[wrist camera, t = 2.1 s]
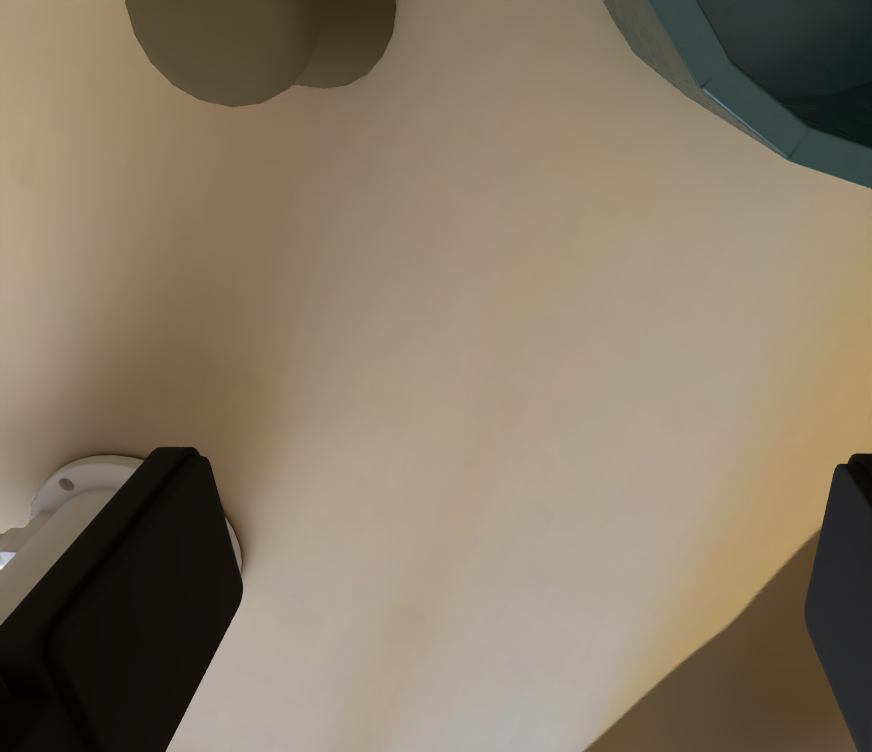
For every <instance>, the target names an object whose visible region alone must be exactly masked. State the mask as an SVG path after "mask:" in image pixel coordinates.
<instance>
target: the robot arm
mask: <svg viewBox="0 0 872 752" xmlns="http://www.w3.org/2000/svg"><path fill="white" fill-rule="evenodd" d="M29 519H30V522H29V523H28V524H27V525H26V526H25V527H24V528H11V529H9V530H8V531H6V532H5V533H4V534H0V752H165V751H166V749H167V747H168V745H169V744H170V742H171V740H172V738H173V736H174V734H175V732H176V730H177V728H178V726H179V724H180V722H181V720H182V718H183V716H184V714H185V712H186V710H187V708H188V706H189V704H190V702H191V700H192V698H193V696H194V694H195V692H196V690H197V688H198V686H199V684H200V682H201V680H202V678H203V676H204V674H205V672H206V670H207V668H208V667H209V665H210V663H211V661H212V659H213V657H214V655H215V653H216V651H217V649H218V647H219V645H220V643H221V641H222V639H223V637H224V635H225V633H226V631H227V629H228V627H229V625H230V623H231V621H232V619H233V617H234V615H235V613H236V611H237V609H238V607H239V605H240V603H241V599H242V594H243V583H242V578H241V566H242V559H241V552H240V546H239V544H238V541H237V538H236V536H235V533H234V530H233V529H232V527H231V525H230V524H229V522H228V520H227V519H226V517H225V516H224V512H223V508H222V505H221V501H220V497H219V494H218V490H217V486H216V483H215V479H214V475H213V472H212V468H211V465H210V462H209V460H208V459H207V458H206V457H204V456H200V454H199V452H198V451H197V450H196V449H195V448H193V447H158V448H156V449H155V450H153V451H152V452H151V454H150V455H149V456H148V457H147V458H146V459H145V460H144V461H143V460H140V459H137V458H131V457H124V456H117V455H103V456H92V457H87V458H83V459H78V460H76V461H74V462H72V463H69V464H67V465H65V466H63V467H62V468H61V469H59V470H58V471H57V472H56V473H55V474H53V475H52V476H51V477H50V478H49V479H48V480H47V481H46V482H45V483H44V484H43V486H42V487H41V488H40V489H39V490H38V492H37V494H36V496H35V498H34V500H33V502H32V505H31V511H30V518H29ZM805 622H806V627H807V630H808V633H809V635H810V638H811V640H812V643H813V645H814V647H815V650H816V652H817V655H818V657H819V659H820V662H821V664H822V667H823V669H824V672H825V674H826V676H827V679H828V681H829V683H830V686H831V688H832V691H833V693H834V696H835V698H836V700H837V703H838V705H839V707H840V710H841V712H842V715H843V717H844V720H845V722H846V724H847V727H848V729H849V731H850V734H851V736H852V739H853V741H854V743H855V746H856V748H857V751H858V752H872V454H854V455H852V456H851V458H850V459H849V461H848V464H839V465H837V467H836V468H835V471H834V474H833V478H832V483H831V488H830V492H829V497H828V501H827V506H826V510H825V515H824V520H823V524H822V529H821V533H820V538H819V543H818V547H817V552H816V556H815V561H814V566H813V571H812V575H811V579H810V584H809V588H808V593H807V597H806V602H805Z"/></svg>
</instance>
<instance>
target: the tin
mask: <svg viewBox="0 0 872 752" xmlns="http://www.w3.org/2000/svg"><path fill="white" fill-rule="evenodd" d="M603 2H604V4H605V5H606V7H607V9H608V10H609V12H610V14H611V16H612V18H613V20H614V21H615V23H616V25H617V27H618V28H619V30H620V31H621V32H622V34H623V36H624V37H625V39H626V41H627V42H628V44H629V46H630V47H631V49H632V51H633V52H634V53H635V54H636V55H637V56H638V57H639V58H640V59H642V60H643V61H644V62H645V63H646V64H648V65H649V66H650V67H651V68H653V69H654V70H655V71H656V72H657V73H659V74H660V75H661V76H662V77H664V78H665V79H666V80H667V81H669V82H670V83H671V84H672V85H674V86H675V87H676V88H677V89H678V90H680V91H681V92H682V93H683V94H685V95H686V96H687V97H689V98H691V99H692V100H694V101H695V102H697V103H698V104H700V105H701V106H703V107H705V108H706V109H708V110H709V111H711V112H712V113H714V114H716V115H717V116H719V117H720V118H722V119H723V120H725V121H727V122H728V123H730V124H731V125H733V126H734V127H736V128H738V129H739V130H741V131H742V132H744V133H745V134H747V135H749V136H750V137H752V138H753V139H755V140H756V141H758V142H760V143H761V144H763V145H764V146H766V147H767V148H769V149H771V150H772V151H774V152H775V153H777V154H778V155H780V156H782V157H783V158H785V159H787V160H788V161H790V162H793V163H796V164H799V165H802V166H805V167H808V168H811V169H814V170H817V171H820V172H823V173H826V174H829V175H832V176H835V177H838V178H841V179H844V180H847V181H850V182H853V183H856V184H859V185H862V186H865V187H868V188H871V189H872V0H603Z"/></svg>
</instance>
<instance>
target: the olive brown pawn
mask: <svg viewBox="0 0 872 752" xmlns="http://www.w3.org/2000/svg"><path fill="white" fill-rule="evenodd" d="M125 4H126V7H127V10H128V14H129V17H130V21H131V24H132V27H133V31H134V34H135V36H136V38H137V40H138V41H139V43H140V45H141V46H142V48H143V50H144V51H145V53H146V55H147V57H148V58H149V60H150V62H151V63H152V64H153V65H154V66H155V67H156V68H157V69H158V70H159V71H160V72H161V73H162V74H163V75H164V76H165V77H166V78H167V79H168V80H169V81H170V82H171V83H172V84H173V85H174V86H176V87H178V88H179V89H181V90H183V91H185V92H187V93H188V94H190V95H192V96H194V97H195V98H197V99H199V100H203V101H206V102H210V103H215V104H220V105H225V106H229V107H238V106H246V105H253V104H260V103H262V102H265V101H267V100H269V99H270V98H272V97H274V96H276V95H278V94H279V93H281V92H283V91H285V90H287V89H289V88H290V87H291V85H300V86H308V87H317V88H330V87H337V86H344V85H347V84H349V83H351V82H353V81H355V80H357V79H359V78H360V77H362V76H364V75H366V74H367V73H368V72H369V71H370V70H371V68H372V67H373V66H374V65H375V64H376V63H377V62H378V61H379V60H380V59H381V57H382V56H383V54H384V51H385V49H386V47H387V45H388V42H389V40H390V38H391V36H392V33H393V26H394V18H395V11H396V3H395V0H125Z"/></svg>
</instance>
